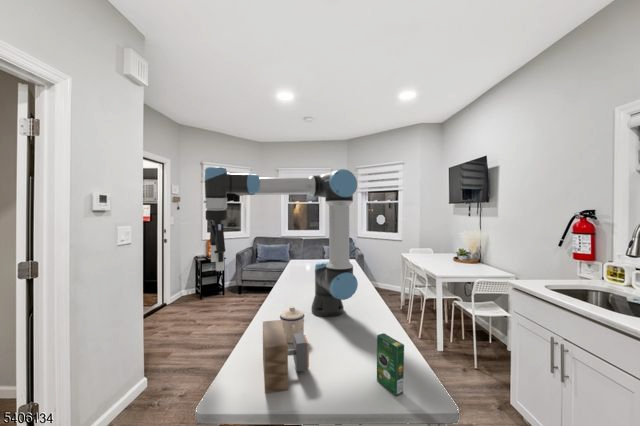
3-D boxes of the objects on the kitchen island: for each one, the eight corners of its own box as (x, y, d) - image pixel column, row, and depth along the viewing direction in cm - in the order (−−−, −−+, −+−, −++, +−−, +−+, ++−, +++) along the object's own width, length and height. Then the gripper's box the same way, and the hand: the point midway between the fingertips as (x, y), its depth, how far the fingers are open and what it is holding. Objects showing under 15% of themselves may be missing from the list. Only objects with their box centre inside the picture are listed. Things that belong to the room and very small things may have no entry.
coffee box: (405, 393, 75) (405, 343, 75) (396, 397, 73) (396, 346, 73) (384, 378, 82) (383, 332, 82) (376, 381, 80) (376, 334, 80)
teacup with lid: (279, 333, 111) (279, 303, 111) (302, 332, 112) (302, 302, 112) (280, 348, 99) (280, 315, 99) (306, 346, 101) (306, 313, 101)
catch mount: (281, 356, 94) (281, 319, 94) (287, 390, 76) (287, 345, 76) (262, 358, 93) (262, 321, 92) (265, 393, 75) (264, 347, 75)
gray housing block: (305, 357, 90) (304, 332, 90) (309, 369, 83) (309, 342, 83) (277, 361, 88) (277, 335, 88) (279, 373, 81) (279, 345, 81)
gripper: (201, 207, 115) (202, 259, 117) (210, 212, 93) (211, 276, 95) (221, 207, 119) (222, 257, 121) (233, 211, 97) (234, 273, 99)
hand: (217, 265), depth 108 cm, fingers open, 13 cm apart
